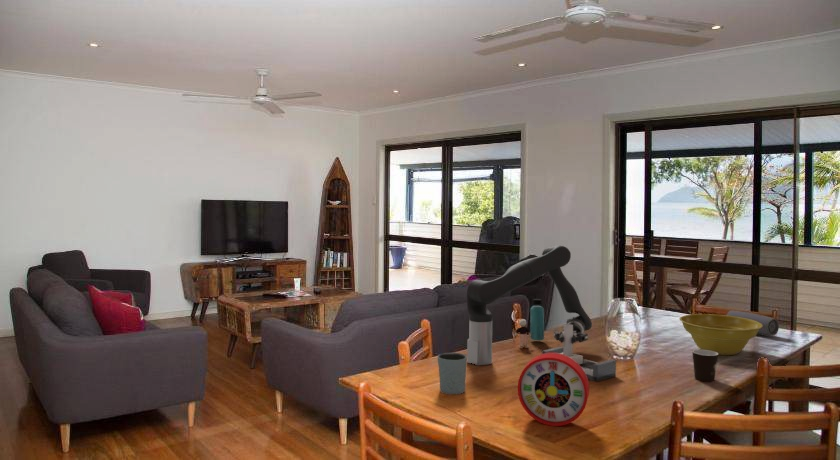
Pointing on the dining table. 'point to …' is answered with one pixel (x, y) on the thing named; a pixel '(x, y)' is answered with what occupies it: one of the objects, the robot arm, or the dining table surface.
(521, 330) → the grandmother figurine
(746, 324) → the planter bowl
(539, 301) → the beverage bottle
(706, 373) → the coffee mug
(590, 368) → the gray tray
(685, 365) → the dining table surface
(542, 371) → the toy clock
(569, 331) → the carriage
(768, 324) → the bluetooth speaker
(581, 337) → the robot arm
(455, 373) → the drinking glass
